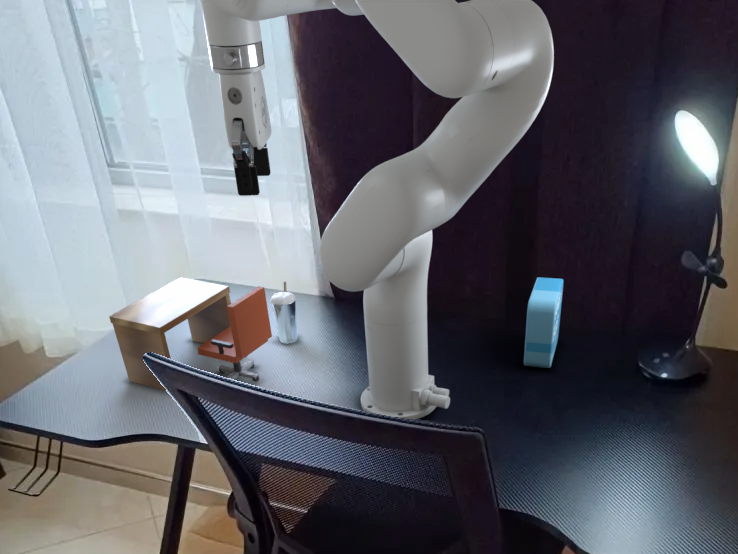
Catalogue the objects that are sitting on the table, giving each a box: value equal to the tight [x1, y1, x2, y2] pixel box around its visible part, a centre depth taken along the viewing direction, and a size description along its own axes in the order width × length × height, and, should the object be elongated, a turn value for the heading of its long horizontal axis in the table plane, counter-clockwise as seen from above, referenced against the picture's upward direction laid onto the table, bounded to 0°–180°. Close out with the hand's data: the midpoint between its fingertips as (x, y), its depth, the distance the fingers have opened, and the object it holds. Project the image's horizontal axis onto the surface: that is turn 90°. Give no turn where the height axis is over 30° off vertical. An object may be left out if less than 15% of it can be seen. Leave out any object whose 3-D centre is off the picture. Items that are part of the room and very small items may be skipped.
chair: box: [196, 285, 273, 383], centre depth 131 cm, size 9×9×15 cm
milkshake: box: [269, 281, 298, 345], centre depth 144 cm, size 4×5×10 cm
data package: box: [523, 276, 565, 369], centre depth 134 cm, size 12×4×12 cm, turn 164°
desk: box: [108, 276, 232, 392], centre depth 137 cm, size 11×18×12 cm, turn 152°
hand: (255, 184), depth 121 cm, fingers open, 9 cm apart
